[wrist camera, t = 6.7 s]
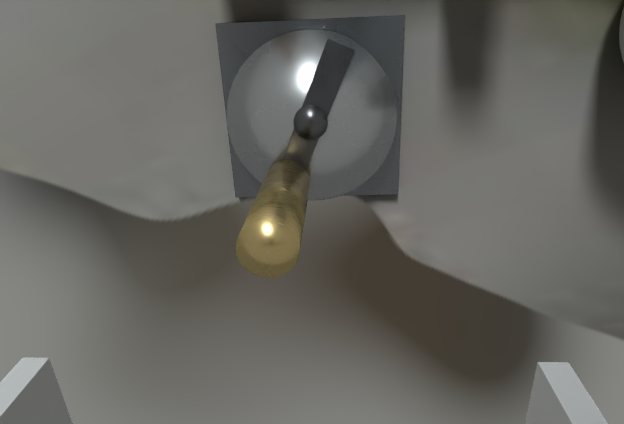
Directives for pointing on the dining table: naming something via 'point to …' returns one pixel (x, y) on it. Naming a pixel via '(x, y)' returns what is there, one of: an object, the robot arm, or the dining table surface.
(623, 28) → the teacup
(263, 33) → the wheel stand
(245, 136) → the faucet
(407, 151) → the dining table surface
